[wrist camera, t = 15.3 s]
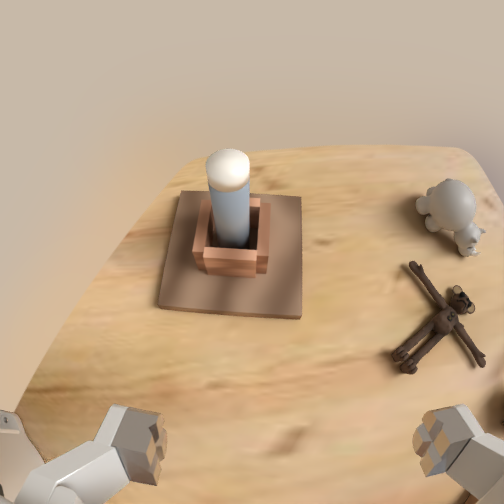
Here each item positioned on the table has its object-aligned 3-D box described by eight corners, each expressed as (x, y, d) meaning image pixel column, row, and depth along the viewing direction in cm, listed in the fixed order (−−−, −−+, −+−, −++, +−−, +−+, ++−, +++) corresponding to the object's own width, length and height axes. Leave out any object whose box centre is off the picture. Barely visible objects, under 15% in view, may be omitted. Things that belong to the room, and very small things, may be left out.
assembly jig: (161, 308, 36) (146, 290, 30) (183, 197, 43) (175, 168, 38) (299, 319, 35) (309, 302, 30) (299, 203, 43) (305, 174, 37)
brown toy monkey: (360, 299, 34) (438, 235, 36) (351, 309, 37) (426, 249, 40) (444, 420, 27) (512, 339, 29) (428, 418, 30) (494, 345, 33)
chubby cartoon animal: (441, 273, 41) (483, 267, 33) (406, 201, 41) (445, 183, 33) (463, 249, 43) (503, 240, 34) (431, 183, 43) (468, 165, 34)
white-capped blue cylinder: (217, 258, 37) (202, 179, 25) (220, 232, 39) (209, 148, 26) (248, 260, 37) (247, 180, 24) (250, 234, 39) (250, 149, 26)
